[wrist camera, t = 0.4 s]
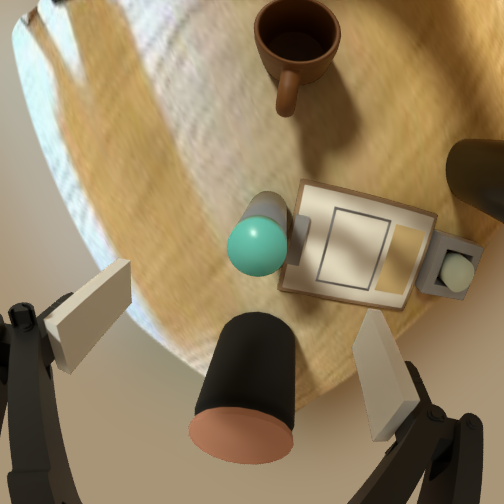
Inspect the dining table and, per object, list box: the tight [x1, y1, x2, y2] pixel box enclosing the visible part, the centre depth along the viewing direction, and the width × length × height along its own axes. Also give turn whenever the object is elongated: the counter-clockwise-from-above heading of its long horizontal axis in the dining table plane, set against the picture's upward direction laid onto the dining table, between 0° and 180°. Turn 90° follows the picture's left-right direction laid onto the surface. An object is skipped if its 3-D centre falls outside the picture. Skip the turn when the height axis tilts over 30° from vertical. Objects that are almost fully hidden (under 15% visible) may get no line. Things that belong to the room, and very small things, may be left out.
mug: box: [254, 0, 341, 117], centre depth 24 cm, size 12×8×9 cm, turn 171°
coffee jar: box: [189, 312, 295, 464], centre depth 33 cm, size 11×11×18 cm
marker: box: [227, 191, 287, 277], centre depth 27 cm, size 4×4×14 cm
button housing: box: [415, 229, 484, 300], centre depth 32 cm, size 8×8×2 cm
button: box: [438, 252, 474, 292], centre depth 31 cm, size 4×4×3 cm
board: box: [277, 179, 438, 311], centre depth 34 cm, size 14×18×2 cm
